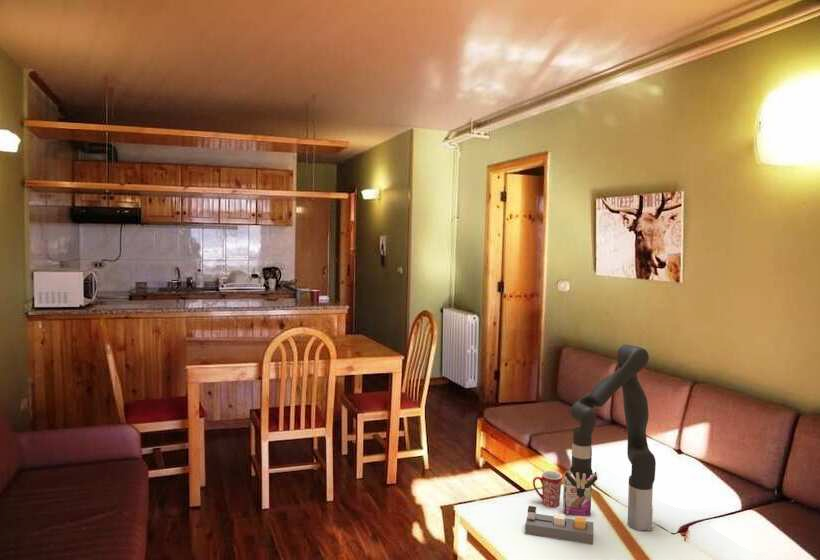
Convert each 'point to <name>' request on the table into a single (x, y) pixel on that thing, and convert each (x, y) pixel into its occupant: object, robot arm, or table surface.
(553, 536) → the control panel
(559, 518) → the beige button
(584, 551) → the table surface
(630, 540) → the table surface
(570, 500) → the candy bar box
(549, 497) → the mug
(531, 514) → the slide switch
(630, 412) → the robot arm
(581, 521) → the amber button
